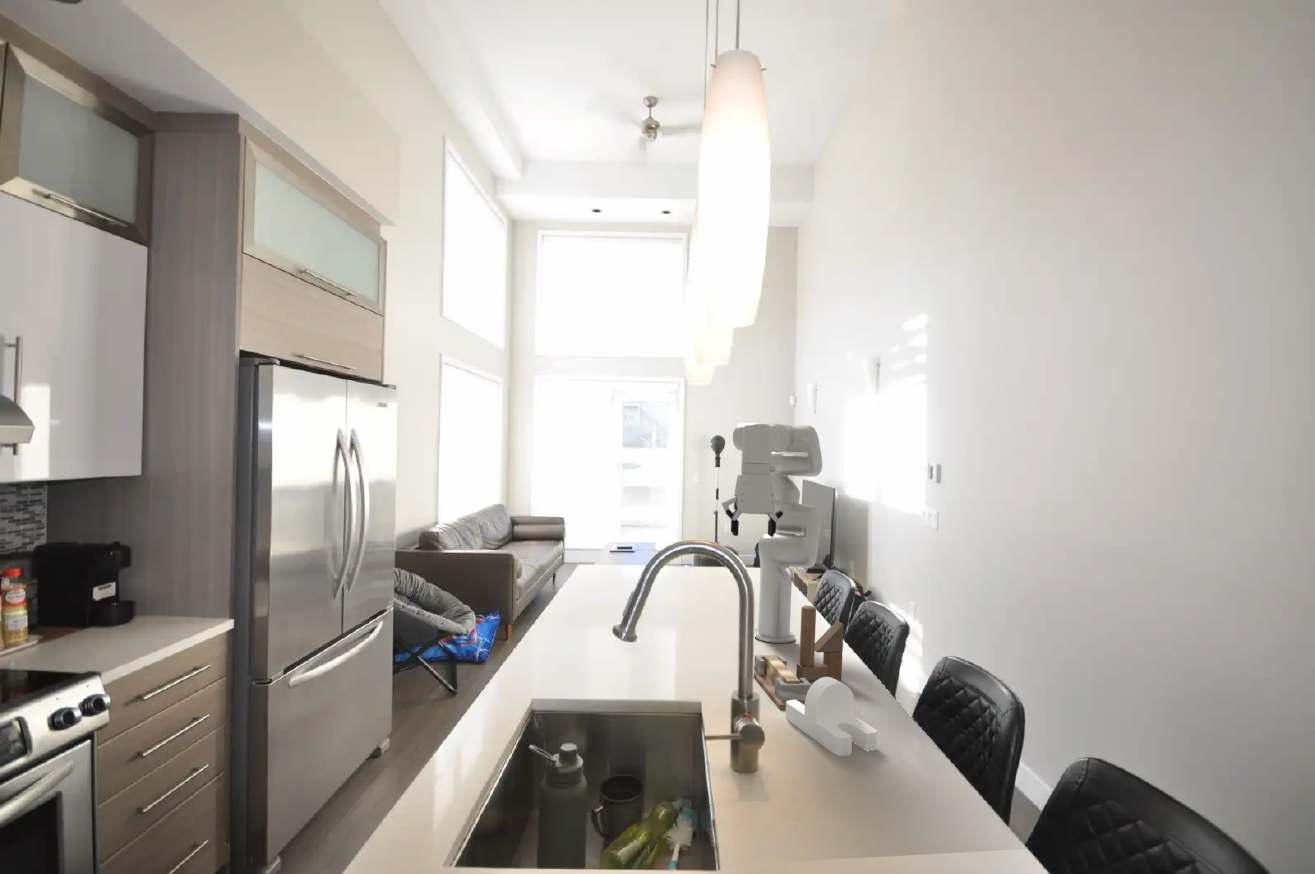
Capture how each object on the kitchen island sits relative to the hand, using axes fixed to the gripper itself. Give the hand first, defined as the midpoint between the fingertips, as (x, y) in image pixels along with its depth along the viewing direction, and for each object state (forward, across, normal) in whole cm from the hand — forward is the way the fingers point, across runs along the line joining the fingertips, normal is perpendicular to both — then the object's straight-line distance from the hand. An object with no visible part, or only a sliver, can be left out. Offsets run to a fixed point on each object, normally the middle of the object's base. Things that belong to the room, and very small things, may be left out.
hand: (753, 535), depth 163 cm
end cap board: (+34, -4, +14) cm, 37 cm away
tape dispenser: (+35, -6, +37) cm, 51 cm away
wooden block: (+34, -16, +8) cm, 39 cm away
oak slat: (+33, -4, +15) cm, 37 cm away
